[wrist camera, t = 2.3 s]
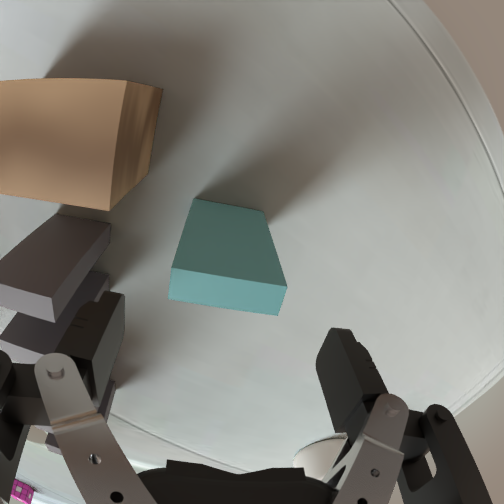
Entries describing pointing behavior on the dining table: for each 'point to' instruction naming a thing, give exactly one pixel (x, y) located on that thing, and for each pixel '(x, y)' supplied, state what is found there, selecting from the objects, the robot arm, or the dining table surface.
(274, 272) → the domino
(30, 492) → the puzzle toy
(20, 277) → the domino
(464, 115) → the dining table surface
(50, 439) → the domino
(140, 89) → the end block
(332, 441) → the mug
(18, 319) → the domino
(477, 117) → the dining table surface
